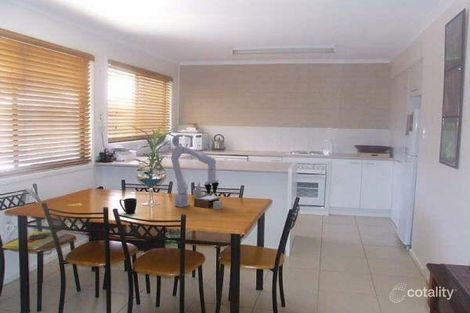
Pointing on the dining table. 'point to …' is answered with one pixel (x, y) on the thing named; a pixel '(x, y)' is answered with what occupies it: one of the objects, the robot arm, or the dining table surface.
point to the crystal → (198, 191)
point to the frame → (203, 202)
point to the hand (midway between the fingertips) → (211, 193)
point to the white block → (217, 205)
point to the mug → (129, 205)
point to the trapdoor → (206, 197)
